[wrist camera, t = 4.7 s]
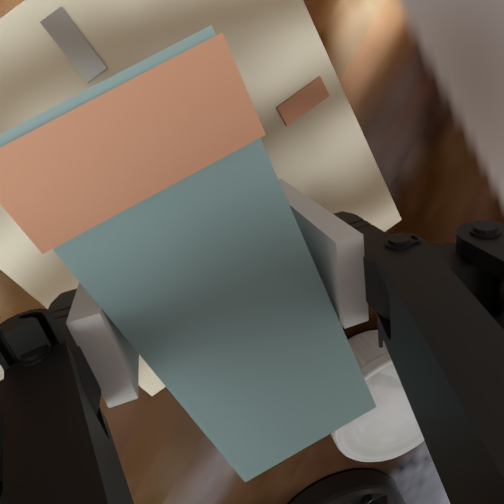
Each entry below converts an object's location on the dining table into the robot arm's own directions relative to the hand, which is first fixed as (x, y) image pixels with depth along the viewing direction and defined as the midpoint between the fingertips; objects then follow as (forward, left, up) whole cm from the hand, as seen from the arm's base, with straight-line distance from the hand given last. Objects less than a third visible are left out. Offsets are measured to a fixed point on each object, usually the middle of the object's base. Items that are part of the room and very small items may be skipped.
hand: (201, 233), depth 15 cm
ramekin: (-24, -3, -10) cm, 26 cm away
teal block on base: (0, 0, -7) cm, 7 cm away
